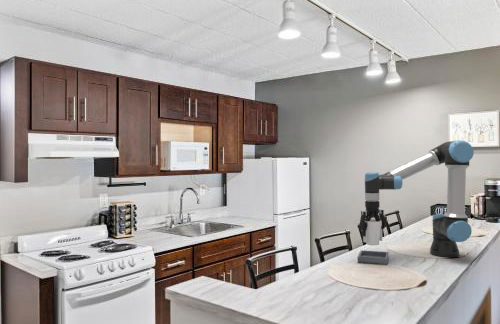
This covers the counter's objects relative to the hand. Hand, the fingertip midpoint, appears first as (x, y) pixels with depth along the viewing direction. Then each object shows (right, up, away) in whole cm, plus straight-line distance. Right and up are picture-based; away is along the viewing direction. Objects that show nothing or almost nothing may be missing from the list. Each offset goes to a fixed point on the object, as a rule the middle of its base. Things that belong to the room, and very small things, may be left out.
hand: (372, 241), depth 212 cm
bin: (0, -11, 0) cm, 11 cm away
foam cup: (0, -2, 0) cm, 2 cm away
